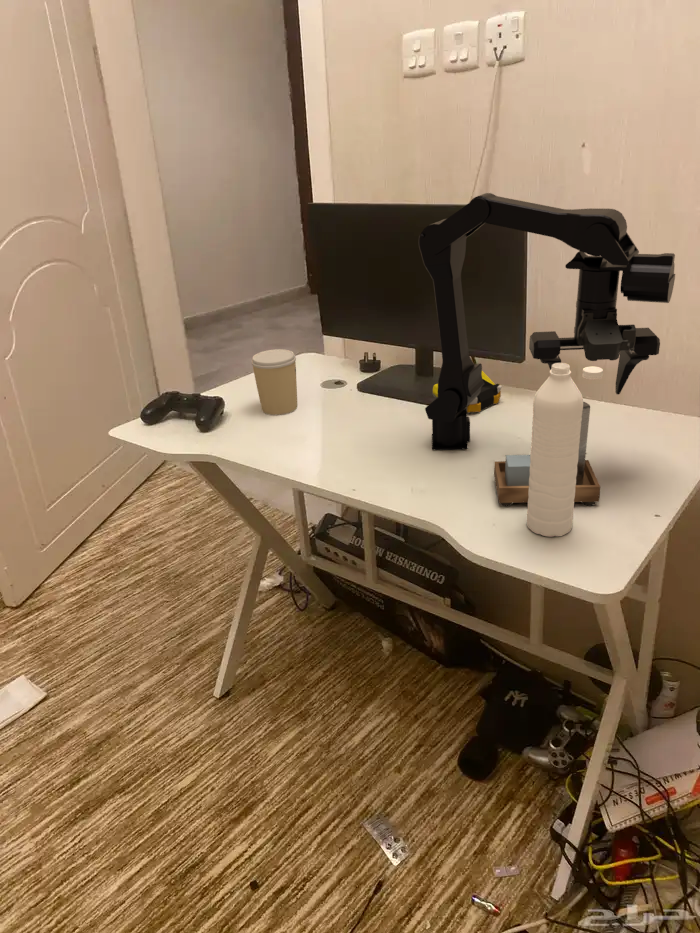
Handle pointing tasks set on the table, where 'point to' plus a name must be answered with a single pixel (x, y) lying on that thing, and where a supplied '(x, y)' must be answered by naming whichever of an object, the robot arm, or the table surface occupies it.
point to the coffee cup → (276, 381)
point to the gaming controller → (481, 395)
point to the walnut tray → (519, 494)
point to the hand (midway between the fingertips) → (587, 394)
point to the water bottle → (555, 451)
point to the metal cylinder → (583, 443)
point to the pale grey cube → (517, 470)
